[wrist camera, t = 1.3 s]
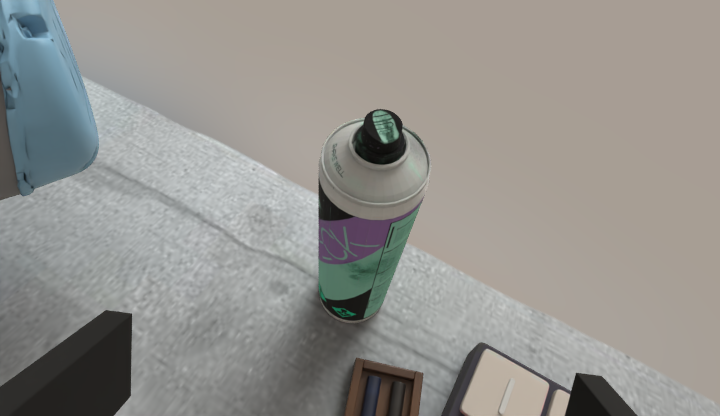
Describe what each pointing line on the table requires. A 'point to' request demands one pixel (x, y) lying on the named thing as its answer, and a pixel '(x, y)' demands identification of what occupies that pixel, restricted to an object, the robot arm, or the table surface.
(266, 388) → the table surface
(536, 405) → the calculator
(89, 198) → the table surface
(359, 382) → the pen tray
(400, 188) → the spray can
